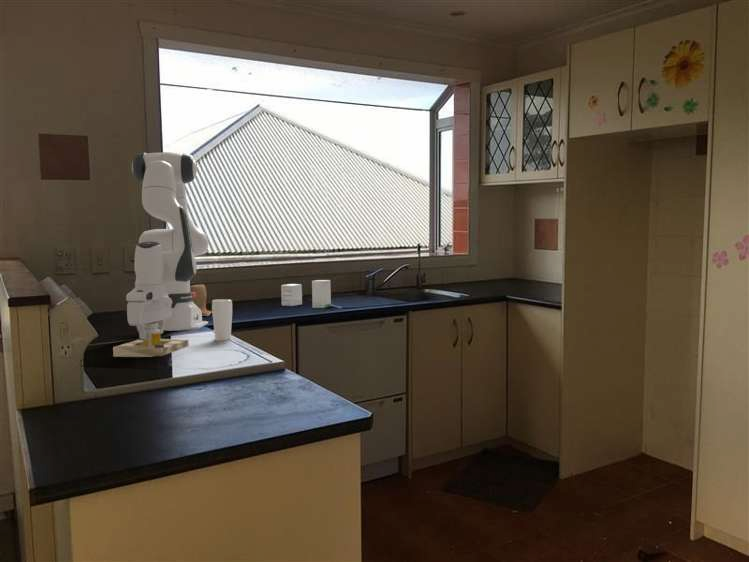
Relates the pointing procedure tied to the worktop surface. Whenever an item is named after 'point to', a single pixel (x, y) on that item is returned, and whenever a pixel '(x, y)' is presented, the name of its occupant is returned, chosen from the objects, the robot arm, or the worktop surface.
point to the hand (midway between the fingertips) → (151, 336)
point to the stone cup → (200, 298)
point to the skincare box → (321, 293)
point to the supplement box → (291, 294)
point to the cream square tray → (148, 348)
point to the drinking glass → (222, 318)
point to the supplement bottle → (152, 334)
